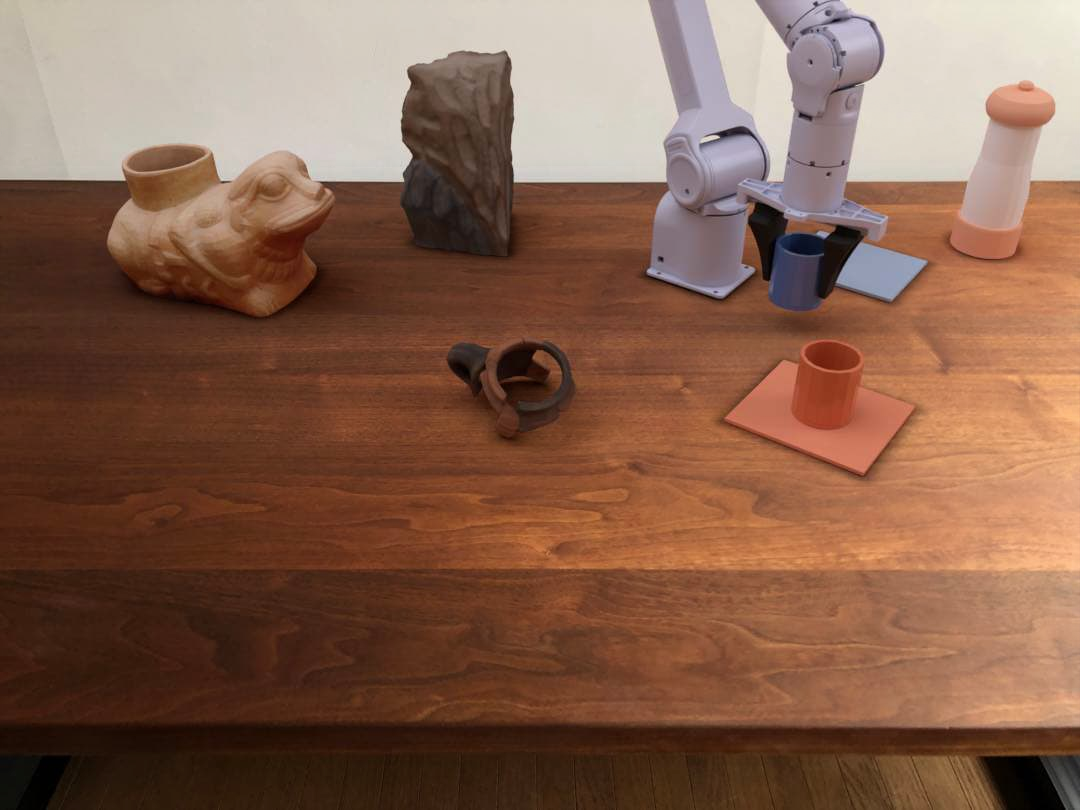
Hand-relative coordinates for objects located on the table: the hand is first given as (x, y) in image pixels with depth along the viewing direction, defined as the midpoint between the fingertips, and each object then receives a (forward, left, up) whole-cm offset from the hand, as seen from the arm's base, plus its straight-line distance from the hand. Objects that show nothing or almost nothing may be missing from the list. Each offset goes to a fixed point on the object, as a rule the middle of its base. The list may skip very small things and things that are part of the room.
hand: (796, 285), depth 105 cm
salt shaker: (+10, +30, -5) cm, 32 cm away
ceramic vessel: (-53, -28, -5) cm, 60 cm away
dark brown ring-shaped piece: (-14, -29, -5) cm, 32 cm away
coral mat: (+9, -13, -5) cm, 16 cm away
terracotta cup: (+9, -13, -4) cm, 16 cm away
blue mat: (0, +16, -5) cm, 17 cm away
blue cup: (0, 0, -1) cm, 1 cm away
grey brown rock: (-39, -4, -5) cm, 39 cm away
